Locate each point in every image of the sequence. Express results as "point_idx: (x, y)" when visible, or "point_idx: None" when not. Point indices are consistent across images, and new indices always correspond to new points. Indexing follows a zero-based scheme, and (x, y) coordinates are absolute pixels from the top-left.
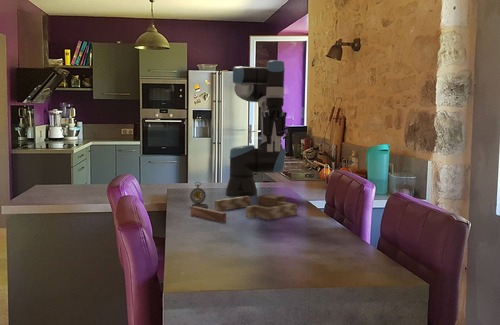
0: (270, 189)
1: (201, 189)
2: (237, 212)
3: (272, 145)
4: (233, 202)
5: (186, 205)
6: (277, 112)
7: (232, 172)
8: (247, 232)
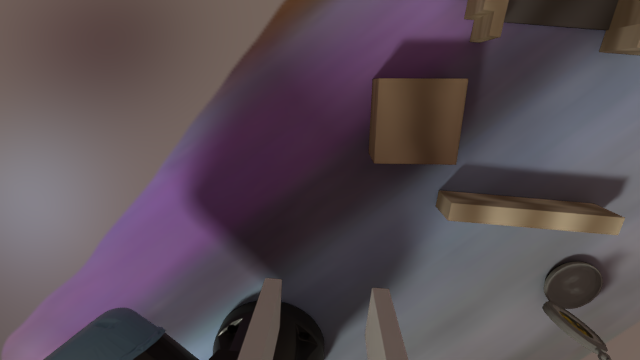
0: None
1: (584, 336)
2: (581, 138)
3: (389, 336)
4: (534, 205)
5: None
6: None
7: None
8: None
